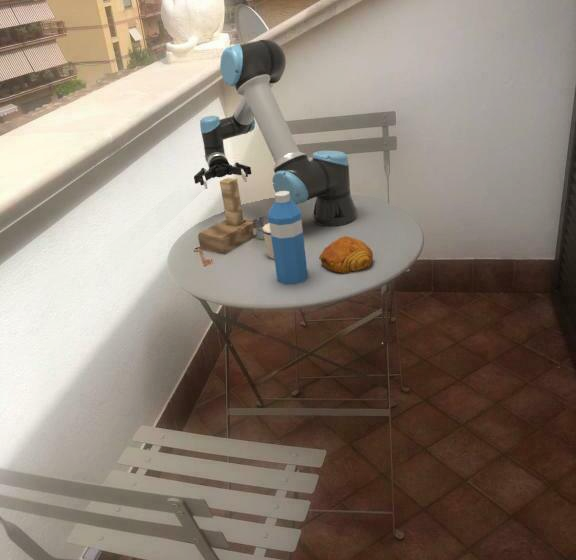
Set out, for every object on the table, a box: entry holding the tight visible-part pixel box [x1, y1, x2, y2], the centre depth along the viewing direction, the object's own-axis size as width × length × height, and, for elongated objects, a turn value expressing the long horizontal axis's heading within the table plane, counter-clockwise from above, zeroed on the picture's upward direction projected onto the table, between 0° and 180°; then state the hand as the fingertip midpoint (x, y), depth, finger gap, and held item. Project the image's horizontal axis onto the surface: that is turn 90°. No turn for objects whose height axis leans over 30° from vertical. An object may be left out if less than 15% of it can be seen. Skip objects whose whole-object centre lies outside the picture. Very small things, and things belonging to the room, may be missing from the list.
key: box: [193, 246, 214, 267], centre depth 184 cm, size 6×1×15 cm
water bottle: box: [268, 191, 309, 285], centre depth 158 cm, size 9×9×25 cm
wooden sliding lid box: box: [197, 219, 257, 255], centre depth 190 cm, size 16×11×5 cm
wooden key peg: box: [219, 177, 245, 227], centre depth 190 cm, size 4×4×20 cm
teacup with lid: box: [262, 222, 275, 260], centre depth 177 cm, size 12×9×12 cm
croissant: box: [318, 236, 374, 274], centre depth 167 cm, size 14×16×8 cm
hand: (225, 181), depth 196 cm, fingers open, 13 cm apart
